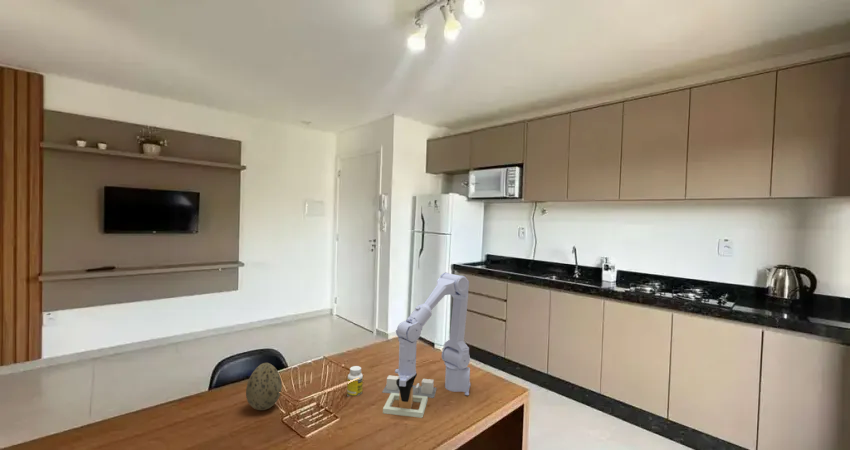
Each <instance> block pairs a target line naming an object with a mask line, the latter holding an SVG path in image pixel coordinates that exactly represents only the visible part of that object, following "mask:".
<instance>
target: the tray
mask: <svg viewBox="0 0 850 450" xmlns="http://www.w3.org/2000/svg"><path fill="white" fill-rule="evenodd" d="M428 400H429V399H428V397H427V396H418V395H413V403H420V404H419V408H418V409H414V408H411V409H406V408H399V407H397V406H393V404H394V401H399V393H389V396H388V398H387V400H386V402H385V404H384V406H383V408H382V414H387V415H394V416H395V415H396V416H402V417H411V418H413V417H414V418H420V419H422V418H423V417H424V414H425V411H426V406H427V403H428Z"/></svg>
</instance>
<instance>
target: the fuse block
mask: <svg viewBox="0 0 850 450" xmlns="http://www.w3.org/2000/svg"><path fill="white" fill-rule="evenodd" d="M397 379H399V375H398V376H397V375H390V374H389V375H388V376H387V377H386V383H385V384H386V385H385V387H384V388H383V389H382V392H381V393H384V394H391V393H399V392H400V390H399V388H398V386H397V384H396V381H397ZM434 381H435V379H432V378H431V379H430V378H429V379H427V378H422V380H421V385H420V383H419V382H418V383H416V385H414V384H413V395H418V396H427V397H428V398H430V399H435V397H436V392H437V389H438V388H437V387H434Z"/></svg>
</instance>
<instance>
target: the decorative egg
mask: <svg viewBox="0 0 850 450" xmlns="http://www.w3.org/2000/svg"><path fill="white" fill-rule="evenodd" d="M282 387H283V385H282V378H281V375H280V373H279V371H278V369H277V368H276V367H275V366H274V365H273V364H271V363H269V362H263V363H261V364H259V365H258V366H256V368H255V369H254V370H253V372H252V373H251V375H250V377H249V378H248V382H247V384H246V387H245V397H246V400H247V402H248V405H249V406H250V407H252V408H253V409H254V410H256V411H266V410H269V409H270V408H272V407H273V406H274V405H276V404H277V402H278V400H279V399H280V396H281V394H280V393H279V392H281V393H282Z"/></svg>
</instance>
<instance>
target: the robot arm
mask: <svg viewBox="0 0 850 450" xmlns="http://www.w3.org/2000/svg"><path fill="white" fill-rule="evenodd" d="M469 286H470V281H469V280H468V278H467V277H466V276H464V275H458V274H454V273H449V272H442V274H441V275H440V276H439V277H438V279H437V280H436V286H435V287H434V288H433V289H432V292H431V293H430V294H429V296H428V297H427V298H426V300H425V301H424V303H421V304H418V305H416V306H415V308H414V310H413V311H412V313H410V315H409V316H408V317H407V318H406V320H403V321H401V322H400V323H399V324H398V326H397V328H396V330H395V334H396V336H397V339H398V342H399V344H398V347H399V348H398V368H396V369H395V370H394V373H395V374H397V375H398V376H399V379H397V381H396V384H397V386H398V388H399V390H400V395H401V400H402V401H403V402H408V400H409V396H410V390H411V387H413V385H414V383H415V379H416V378H417V375H418V372H417V367H416V366H417V340H419V339H420V337H421V334H422V333H421V332H422V331H423V327H424V326H425V324H426V323H427V322H428V321H429V320H430V318H431V317H432V310H434V308H435V307H436V306H437V305H438V304H439V302H441V301H442V300H443V299H444V297H446V296H449V295H450V296H451V298H453V302H452V309H451V310H452V311H451V320H450V321H451V322H450V331H449V339H448V340H446V341H445V342H444V344H443V345H444V346H443V348H442V351H441V359H442V361H443V363H444V365H445V377H444V387H445V389H446V390H447V391H449V392H455V393H456V392H463V393H464V396H469V395H470V388H471V382H470V381H471V378H470V377H471V367H469V366H468V365H469V364H470V362H471V361H470V360H471V356H470V347H469V346H468V345H467V343H466V342H465V335H466V334H465V332H466V324H467V323H466V321H467V313H468V312H467V311H468V301H469V289H470V287H469Z"/></svg>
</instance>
